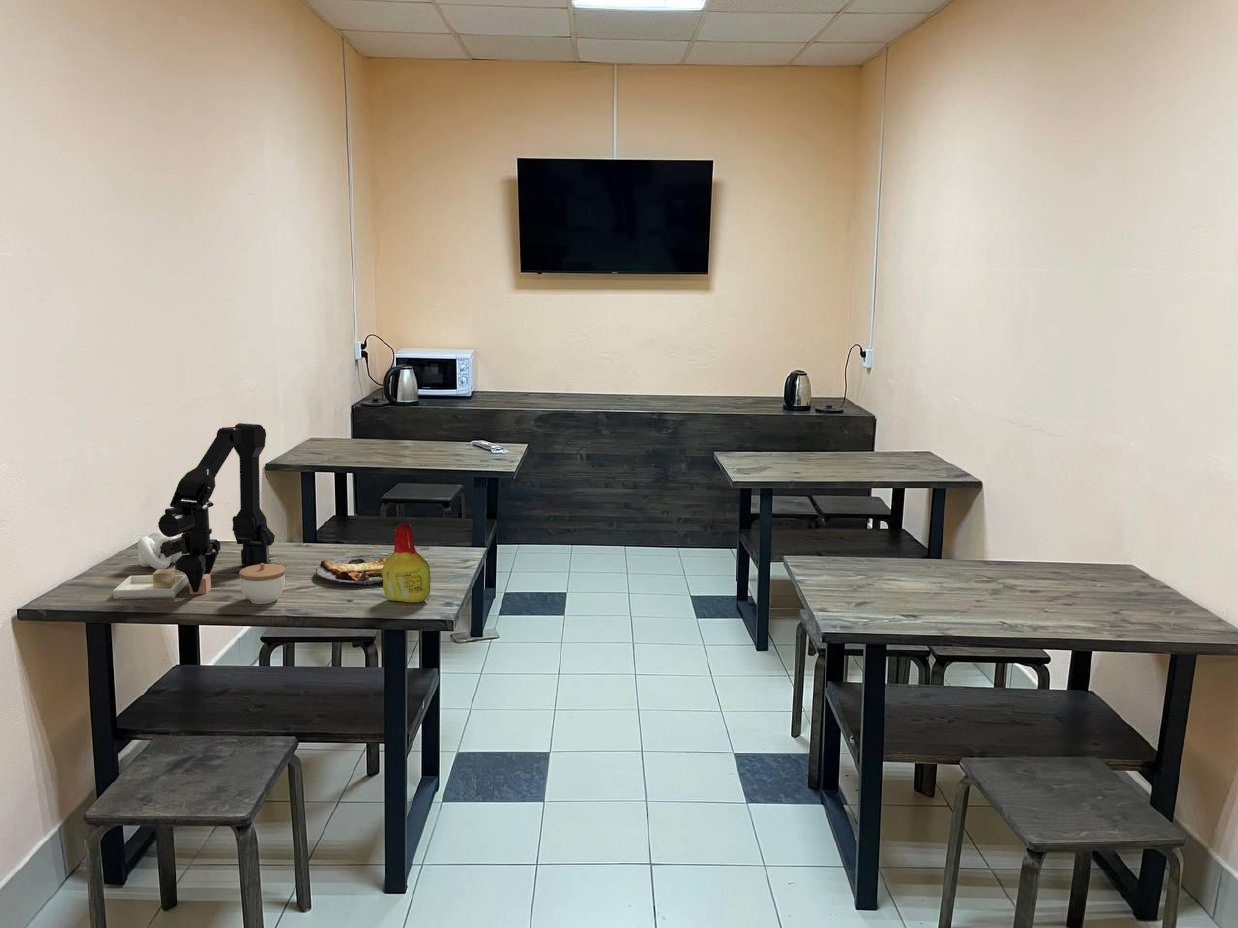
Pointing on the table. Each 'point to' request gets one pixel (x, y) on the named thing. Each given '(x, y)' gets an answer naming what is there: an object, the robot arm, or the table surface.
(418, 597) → the bottle
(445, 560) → the table surface
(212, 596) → the table surface
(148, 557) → the white knot sculpture
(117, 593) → the tray
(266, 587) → the lidded jar
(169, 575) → the beech block
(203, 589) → the terracotta block
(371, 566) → the food plate
